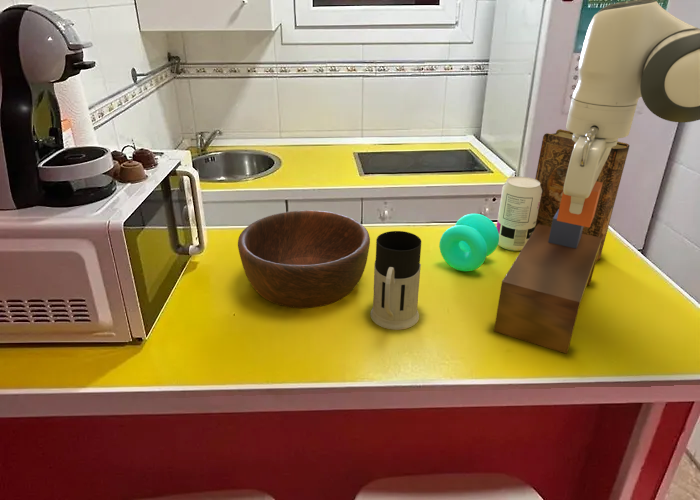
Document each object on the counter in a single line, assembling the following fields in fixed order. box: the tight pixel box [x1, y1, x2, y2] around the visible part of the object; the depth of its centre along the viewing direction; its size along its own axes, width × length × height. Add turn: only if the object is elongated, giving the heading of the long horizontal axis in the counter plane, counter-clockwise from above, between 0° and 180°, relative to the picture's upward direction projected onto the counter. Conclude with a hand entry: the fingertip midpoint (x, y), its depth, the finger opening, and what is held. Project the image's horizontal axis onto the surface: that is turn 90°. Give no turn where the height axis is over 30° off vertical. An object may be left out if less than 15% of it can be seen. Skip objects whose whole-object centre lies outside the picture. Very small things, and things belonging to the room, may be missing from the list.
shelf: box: [493, 224, 602, 355], centre depth 94 cm, size 12×26×10 cm, turn 150°
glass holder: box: [369, 230, 422, 331], centre depth 87 cm, size 9×14×15 cm, turn 166°
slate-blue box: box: [548, 209, 583, 249], centre depth 97 cm, size 5×5×5 cm
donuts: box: [439, 213, 499, 272], centre depth 108 cm, size 10×10×10 cm
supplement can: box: [496, 175, 542, 252], centre depth 115 cm, size 8×8×15 cm
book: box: [534, 128, 630, 263], centre depth 112 cm, size 16×6×25 cm, turn 41°
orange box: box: [557, 181, 602, 227], centre depth 84 cm, size 5×5×6 cm
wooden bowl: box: [237, 210, 371, 309], centre depth 101 cm, size 25×25×10 cm
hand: (578, 205), depth 84 cm, fingers closed on orange box, 5 cm apart
